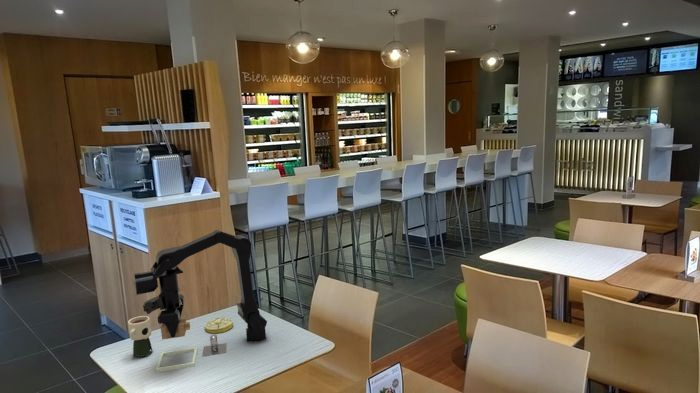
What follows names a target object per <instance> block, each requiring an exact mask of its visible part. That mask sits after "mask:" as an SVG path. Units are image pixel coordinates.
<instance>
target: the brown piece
mask: <svg viewBox="0 0 700 393" xmlns="http://www.w3.org/2000/svg"><path fill="white" fill-rule="evenodd" d="M186 317H187V316H181V317H180V320H179V323H178V327H177V331H176V334H175V337H171V335H170V333H169V331H168V328H167V326H166V325H165V324H163V323H161V325H160V326H161V327H160V332H161V340H163V341H164V340H168V339H174V338H175V339H176V338H182V337H185V336H186V332H187V331H189V330H191V325H190V324H191V323H190V321H187V319H186Z"/></svg>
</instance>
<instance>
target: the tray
mask: <svg viewBox="0 0 700 393" xmlns="http://www.w3.org/2000/svg"><path fill="white" fill-rule="evenodd" d="M186 353H188V354H189V353H193V355H192V361H191V362H186V363H181V364H173V365H169V366H161V365H162V363H163V360H164V357H168V356H173V355H180V354H186ZM197 355H198V347H197V346H196V347H195V346H194V347H189V348H183V349H176V350H169V351H162V352H161V353H160V356H159V358H158V360H157V361H158V362H157V364H156V367H155V373H159V372H166V371H167V372H168V371H174V370H179V369H185V368H192V367H195V366H196V361H197Z"/></svg>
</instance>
